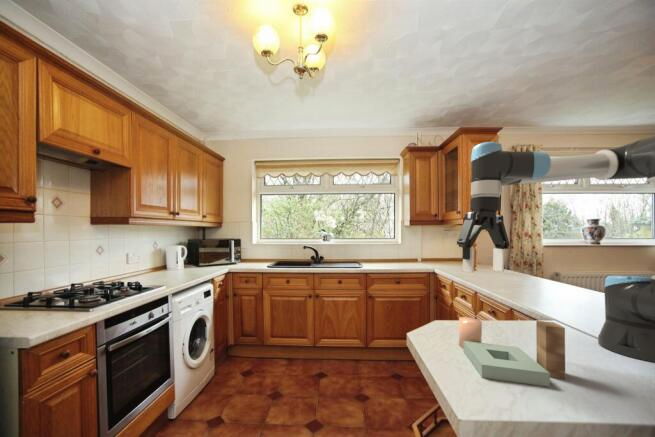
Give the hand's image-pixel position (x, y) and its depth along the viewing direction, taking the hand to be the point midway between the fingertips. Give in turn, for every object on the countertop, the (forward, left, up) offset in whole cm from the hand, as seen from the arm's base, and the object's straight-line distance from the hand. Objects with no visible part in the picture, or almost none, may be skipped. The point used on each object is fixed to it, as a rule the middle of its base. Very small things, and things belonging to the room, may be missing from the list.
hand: (483, 271), depth 74 cm
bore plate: (-2, +6, -24) cm, 24 cm away
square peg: (-13, +6, -24) cm, 28 cm away
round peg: (+2, -5, -24) cm, 24 cm away
